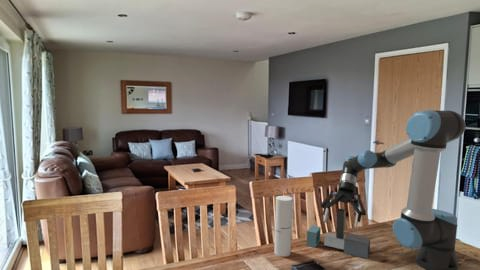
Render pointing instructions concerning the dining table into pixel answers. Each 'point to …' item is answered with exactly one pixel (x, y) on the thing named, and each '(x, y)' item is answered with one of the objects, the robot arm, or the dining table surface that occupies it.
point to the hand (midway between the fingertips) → (339, 224)
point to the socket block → (313, 236)
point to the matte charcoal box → (357, 245)
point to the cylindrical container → (283, 226)
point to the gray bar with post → (337, 232)
